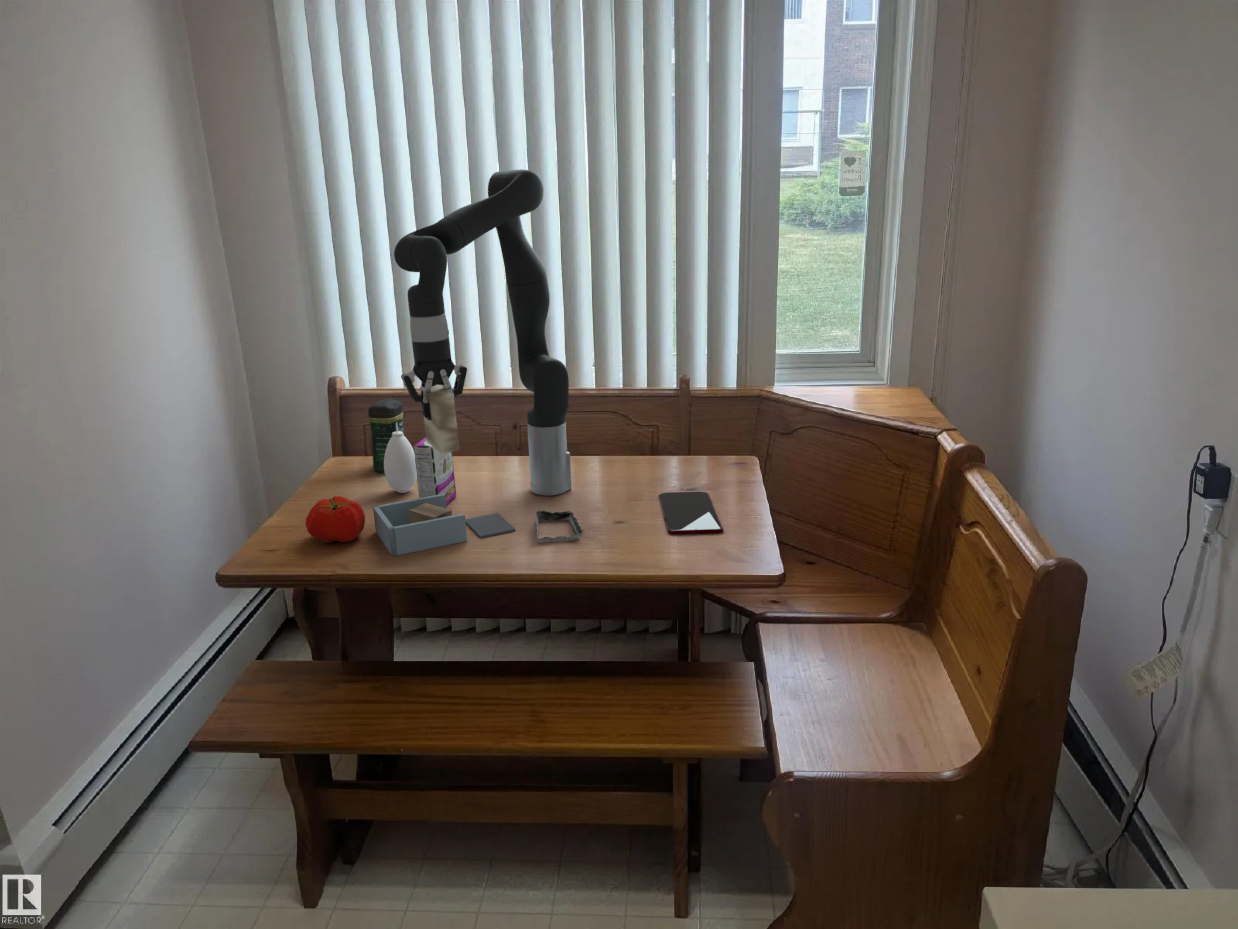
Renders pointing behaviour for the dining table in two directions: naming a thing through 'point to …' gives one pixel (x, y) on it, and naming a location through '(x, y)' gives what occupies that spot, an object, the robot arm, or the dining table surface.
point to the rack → (417, 526)
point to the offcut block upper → (427, 513)
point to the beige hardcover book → (442, 421)
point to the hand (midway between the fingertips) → (439, 416)
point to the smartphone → (689, 513)
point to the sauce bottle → (400, 463)
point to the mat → (489, 525)
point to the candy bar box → (434, 471)
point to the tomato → (335, 520)
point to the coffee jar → (384, 427)
